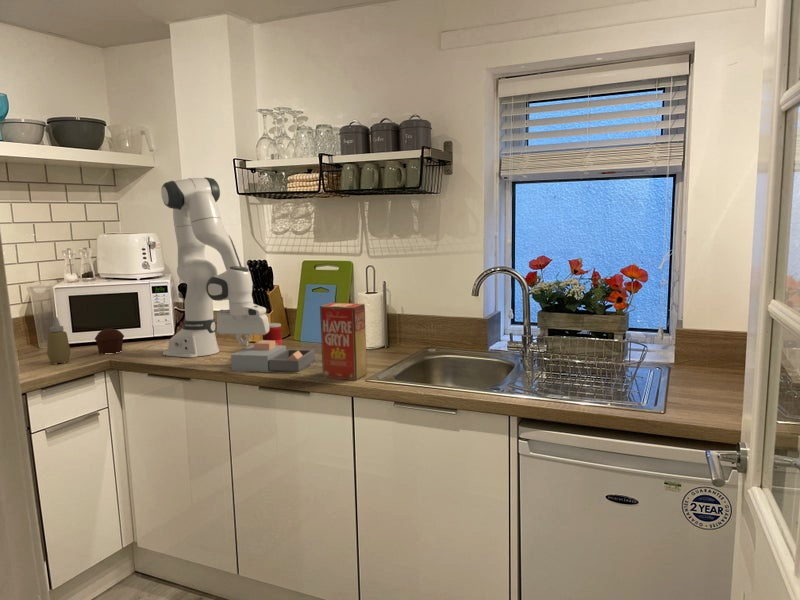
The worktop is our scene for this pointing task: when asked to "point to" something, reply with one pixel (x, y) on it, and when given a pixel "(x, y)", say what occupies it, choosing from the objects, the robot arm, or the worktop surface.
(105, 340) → the muffin
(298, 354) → the tile
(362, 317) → the food packaging
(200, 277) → the robot arm
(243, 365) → the grey rectangular box
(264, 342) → the tile
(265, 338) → the canned food
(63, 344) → the squeeze bottle
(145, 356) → the worktop surface
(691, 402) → the worktop surface
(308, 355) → the box
